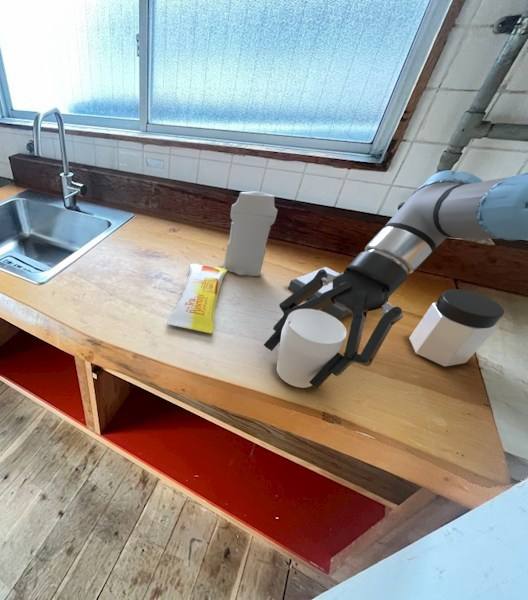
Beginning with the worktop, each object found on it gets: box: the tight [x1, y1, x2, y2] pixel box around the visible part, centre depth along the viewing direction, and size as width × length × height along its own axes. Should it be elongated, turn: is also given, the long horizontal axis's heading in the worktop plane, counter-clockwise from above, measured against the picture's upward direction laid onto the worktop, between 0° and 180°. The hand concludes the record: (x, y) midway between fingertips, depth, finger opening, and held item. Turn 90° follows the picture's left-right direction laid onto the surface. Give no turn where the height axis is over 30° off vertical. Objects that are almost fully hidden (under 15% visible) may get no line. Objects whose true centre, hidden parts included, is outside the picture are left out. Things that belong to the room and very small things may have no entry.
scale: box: [288, 266, 353, 320], centre depth 78 cm, size 14×13×3 cm
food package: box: [166, 263, 228, 334], centre depth 79 cm, size 27×2×10 cm
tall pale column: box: [222, 191, 279, 277], centre depth 82 cm, size 11×4×22 cm, turn 66°
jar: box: [408, 288, 505, 367], centre depth 59 cm, size 9×8×12 cm
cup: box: [276, 309, 347, 389], centre depth 56 cm, size 9×9×12 cm
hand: (288, 365), depth 56 cm, fingers closed on cup, 9 cm apart
